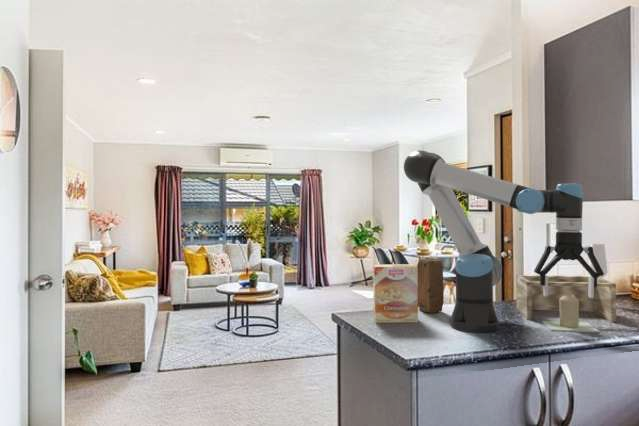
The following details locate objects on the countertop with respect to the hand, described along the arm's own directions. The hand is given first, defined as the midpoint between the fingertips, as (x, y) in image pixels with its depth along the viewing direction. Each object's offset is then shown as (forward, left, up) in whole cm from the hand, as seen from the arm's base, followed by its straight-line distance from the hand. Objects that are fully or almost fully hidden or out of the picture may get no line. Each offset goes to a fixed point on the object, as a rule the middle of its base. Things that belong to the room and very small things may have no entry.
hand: (567, 296), depth 154 cm
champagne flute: (+22, +40, -10) cm, 47 cm away
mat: (0, 0, -10) cm, 10 cm away
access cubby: (+3, +18, -10) cm, 21 cm away
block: (-44, +18, -10) cm, 48 cm away
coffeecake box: (-56, +1, -10) cm, 57 cm away
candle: (0, 0, -10) cm, 10 cm away
